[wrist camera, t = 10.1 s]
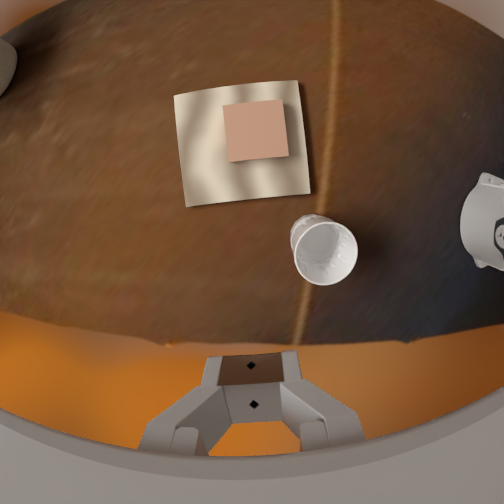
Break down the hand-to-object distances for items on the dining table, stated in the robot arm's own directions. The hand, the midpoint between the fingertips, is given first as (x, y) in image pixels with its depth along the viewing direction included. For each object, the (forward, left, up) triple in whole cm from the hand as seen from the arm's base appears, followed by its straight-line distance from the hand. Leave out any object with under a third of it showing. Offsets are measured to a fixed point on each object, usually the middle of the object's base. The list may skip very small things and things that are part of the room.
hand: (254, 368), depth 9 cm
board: (+1, -11, -34) cm, 36 cm away
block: (+3, -12, -32) cm, 34 cm away
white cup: (-8, +4, -34) cm, 35 cm away
